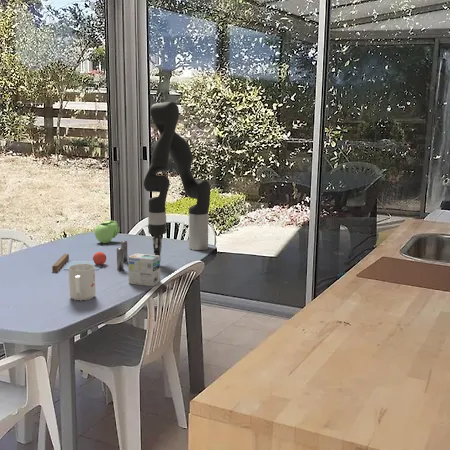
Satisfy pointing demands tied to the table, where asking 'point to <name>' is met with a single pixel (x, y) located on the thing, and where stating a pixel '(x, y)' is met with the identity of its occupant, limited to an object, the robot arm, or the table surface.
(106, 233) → the green rounded piece
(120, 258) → the near post
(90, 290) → the mug
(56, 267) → the stopper wall
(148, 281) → the light bulb box
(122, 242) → the far post
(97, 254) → the ball
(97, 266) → the light blue tilted panel
